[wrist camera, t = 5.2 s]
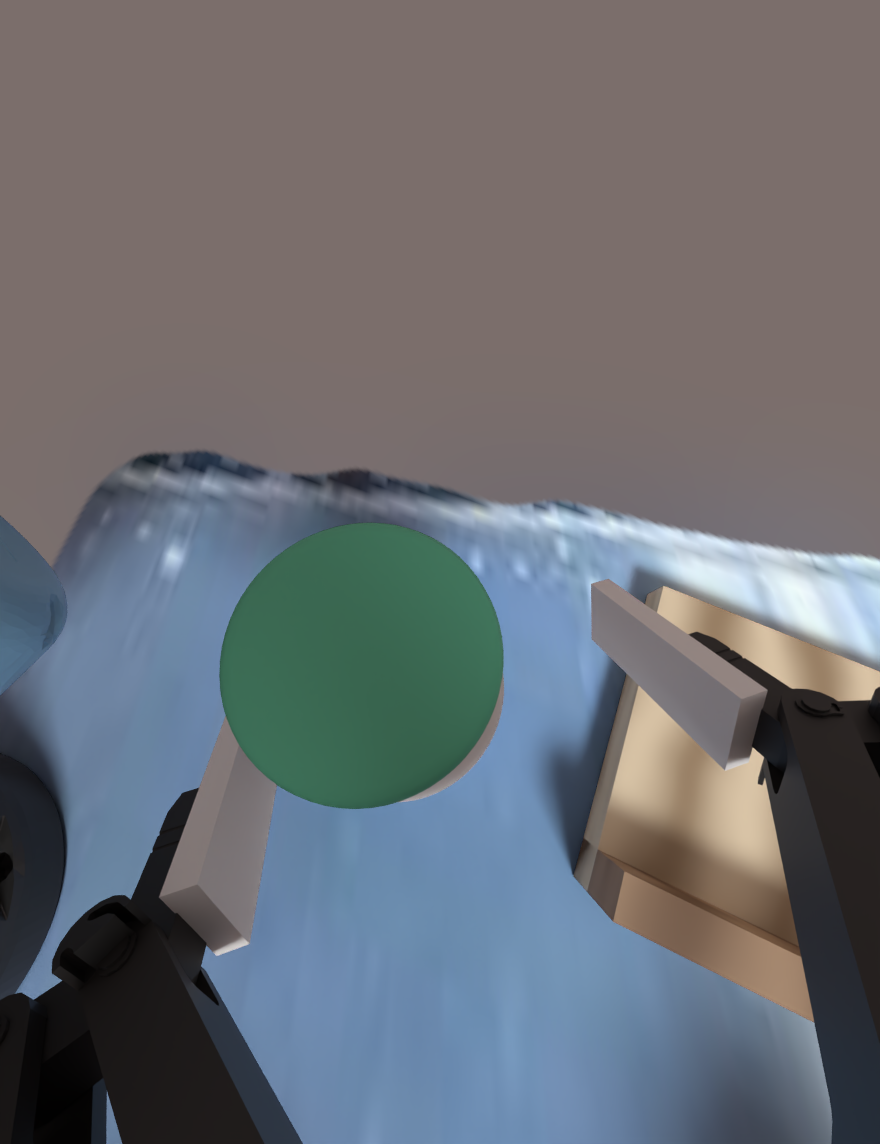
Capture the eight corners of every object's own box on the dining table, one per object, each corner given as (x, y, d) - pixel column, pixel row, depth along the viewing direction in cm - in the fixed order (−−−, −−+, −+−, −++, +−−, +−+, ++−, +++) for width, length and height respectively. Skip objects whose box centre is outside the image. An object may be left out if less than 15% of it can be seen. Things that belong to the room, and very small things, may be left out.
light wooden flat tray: (573, 876, 22) (613, 921, 17) (647, 594, 28) (692, 570, 23) (951, 1062, 20) (1116, 1173, 15) (947, 714, 25) (1065, 715, 21)
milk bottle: (382, 616, 26) (271, 387, 8) (489, 661, 26) (657, 527, 7) (329, 729, 24) (-30, 802, 5) (445, 782, 23) (517, 1096, 4)
